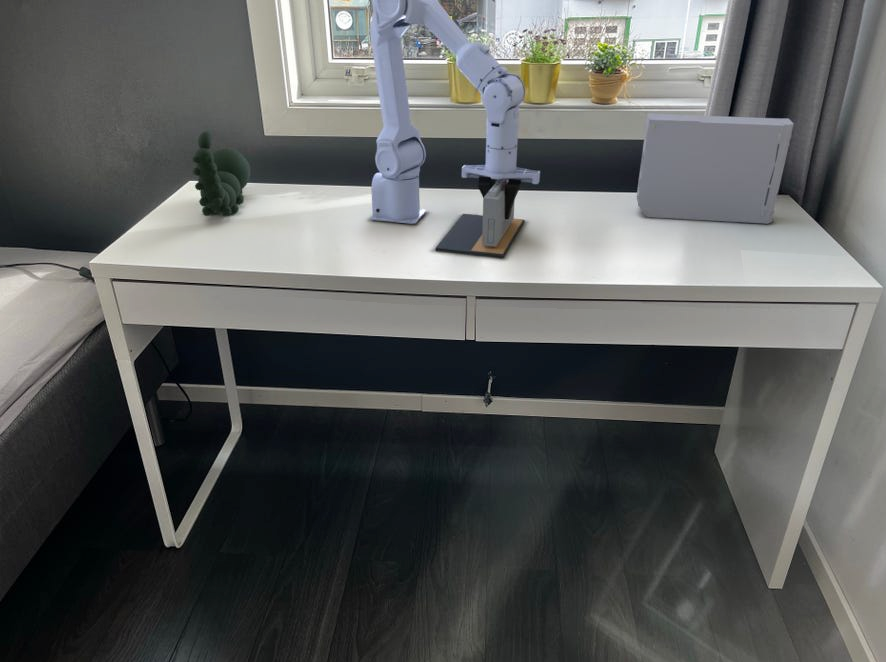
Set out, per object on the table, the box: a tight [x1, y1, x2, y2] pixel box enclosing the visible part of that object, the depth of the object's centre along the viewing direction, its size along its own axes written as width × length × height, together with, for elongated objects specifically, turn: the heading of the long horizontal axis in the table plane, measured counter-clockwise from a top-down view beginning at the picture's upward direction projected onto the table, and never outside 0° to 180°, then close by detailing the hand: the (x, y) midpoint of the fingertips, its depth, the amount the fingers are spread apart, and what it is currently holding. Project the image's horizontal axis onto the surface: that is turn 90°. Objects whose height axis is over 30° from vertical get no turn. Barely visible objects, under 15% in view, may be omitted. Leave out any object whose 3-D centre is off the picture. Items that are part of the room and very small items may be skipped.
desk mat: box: [435, 213, 526, 259], centre depth 148 cm, size 13×20×1 cm, turn 164°
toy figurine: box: [192, 130, 251, 217], centre depth 158 cm, size 9×19×25 cm
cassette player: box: [482, 180, 515, 247], centre depth 144 cm, size 16×3×10 cm, turn 164°
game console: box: [636, 112, 794, 225], centre depth 153 cm, size 6×27×20 cm, turn 81°
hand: (498, 216), depth 145 cm, fingers closed on cassette player, 3 cm apart
